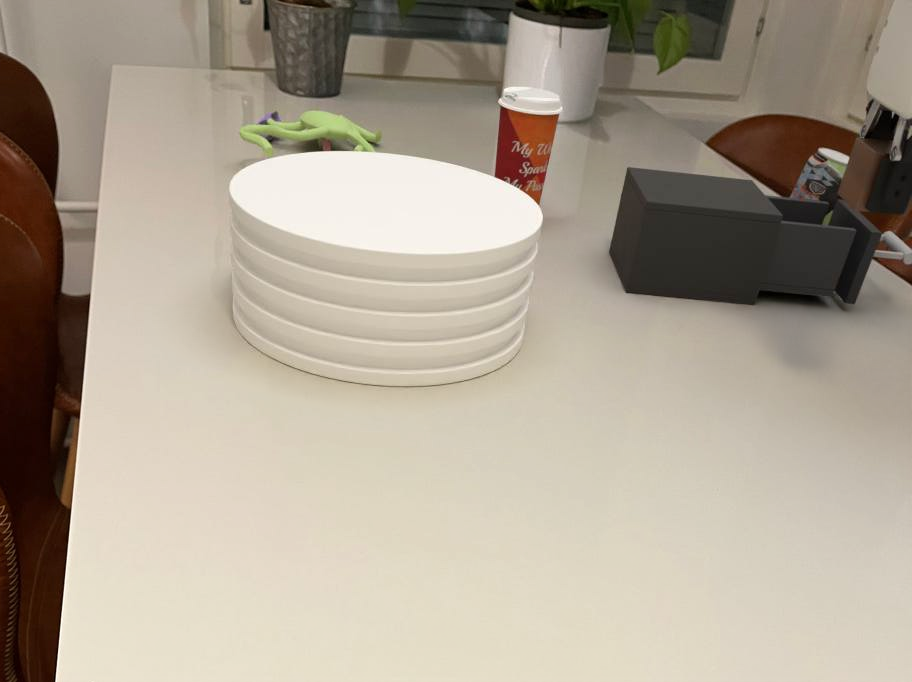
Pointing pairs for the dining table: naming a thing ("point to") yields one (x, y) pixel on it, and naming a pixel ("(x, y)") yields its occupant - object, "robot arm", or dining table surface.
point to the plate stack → (381, 266)
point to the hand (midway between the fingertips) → (873, 199)
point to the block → (864, 172)
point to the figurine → (309, 131)
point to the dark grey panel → (825, 249)
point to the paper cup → (526, 137)
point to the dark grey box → (693, 236)
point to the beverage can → (822, 179)
